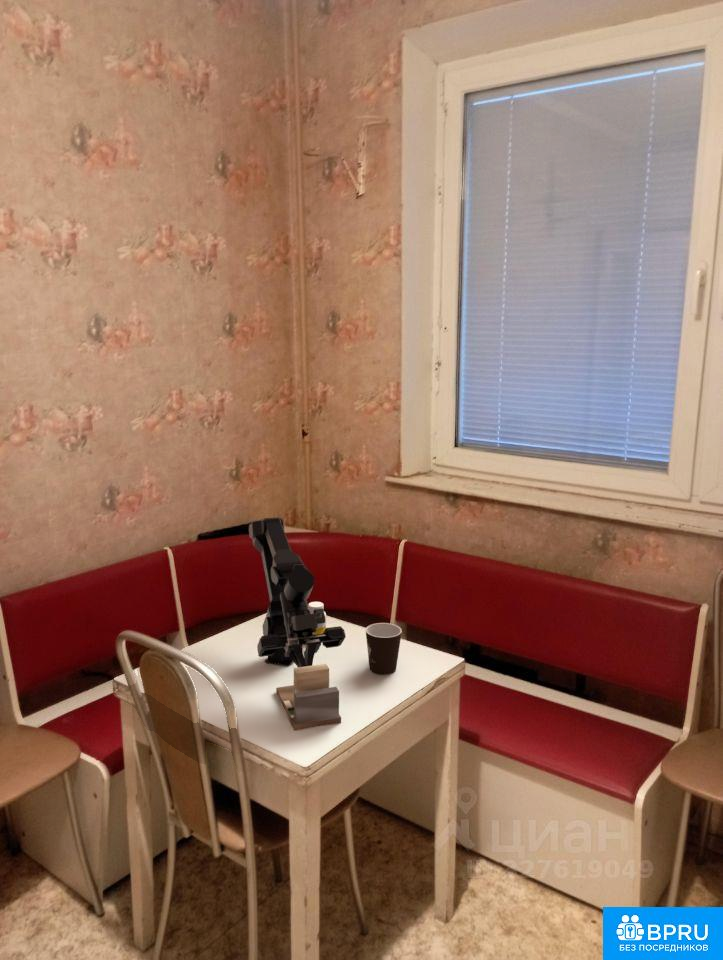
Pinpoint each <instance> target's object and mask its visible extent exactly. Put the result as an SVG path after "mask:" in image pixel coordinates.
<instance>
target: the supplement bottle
mask: <svg viewBox="0 0 723 960" xmlns="http://www.w3.org/2000/svg"><path fill="white" fill-rule="evenodd" d="M307 605H308V609H309V610H310V613H311V614H313V612H314V610H315V609H322V608H323V610H324V609H325V608H324V603H323V602H321V601H311V602H309V603H307ZM324 614H325V623H322V624H318V628H316V631H315V632H313V635H316V634H323V633H324V631H325V629H326V628H327V613H326V611H324Z"/></svg>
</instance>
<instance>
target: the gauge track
mask: <svg viewBox="0 0 723 960" xmlns="http://www.w3.org/2000/svg"><path fill="white" fill-rule="evenodd" d="M275 689H276V695H277V697H278V699H279V701H280V703H281V706H282V708H283V709H284V712H285V714H286V716H287V718H288V721H289V722H290V725H291V728H292V729H293V731H300V730H301V731H302V730H305V729H311V728H313V729H314V728H317V727H324V726H328V725H329V726H330V725H334V724H335V725H336V724H340V723H342V716H341V715H340V690H339V689H338V687H337V686H332V687H331V686H329V688H324V689H317V690H311V691H304V692H298V693H294V684H292V685H285V686H278V687H276V688H275ZM290 707H294V710H292V711H288V708H290Z"/></svg>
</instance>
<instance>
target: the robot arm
mask: <svg viewBox="0 0 723 960" xmlns="http://www.w3.org/2000/svg"><path fill="white" fill-rule="evenodd" d="M248 535H249V538H250V539H251V541H252V545H253V547H254V549H256V550H257V551H258V552H259V553H260V554H261V559H262V564H263V570H264V575H265V580H266V581H265V583H266V585H267V586H266V587H267V591H268V597H269V602H270V603H269V605H268V608H267V611H266V615H265V617H264V621H263V623H262V634H263V635H262V636H261V637H260V638H259V640H258V643H257V646H256V648H257V654H258V655H257V656H258V657H260V658H263V657H266V659H265V660H264V663H265V664H266V663H267V664H270V665H271V664H273V665H279V666H280V665H281V666H285V667H286V666H287V667H290V666H291V665H292V664H293V663H294V664H295V665H296V668H298V667H305V666H313V662H314V656H315V654H316V653H318V652H319V649H320V648H321V645H322V646H324V647H325V648H326V649H329V648H330V649H331V648H337V647H340V646H341V645H342V644H343V642H344V640H345V638H346V633H345V629H344V628H343V627H342V626H332V627H326V629H325V631H324V633H323V634H316V635H313V632H315V631H316V628H318V624H322V623H325V614H324V612H325V611H324V609H323V608H322V609H315V610H314V612H313V614H311V613H310V610H309V609H308V598H309V597H310V595H311V592H312V590H313V587H314V586H315V583H316V582H315V581H316V580H315V576H314V575H313V574H312V572H311V571H310V570H309V569H308V567H307V566H306V564H305V563H303V561H302V559H301V557H300V555H299V554H297V553H296V552H293V551H292V548H291V546H290V543H289V541H288V538H287V535H286V531H285V523H284V520H283V518H282V517H279V516H276V517H275V516H273V517H264V518H262V519H258V520H257V519H255V520H253V522H251V523H249V525H248ZM303 646H304V647H305V650H304V649H303Z"/></svg>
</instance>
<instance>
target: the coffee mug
mask: <svg viewBox="0 0 723 960" xmlns="http://www.w3.org/2000/svg"><path fill="white" fill-rule="evenodd" d="M402 632H403V630H402V628H401V627H400V626H398V625H397V624H393V623H388V622H378V623H377V622H376V623H372V624H369V625H368V626H366V628H365V635H366V636H365V637H366V645H367V647H366V648H367V656H368V657H367V658H368V667H369V671H370V672H371V673H373V674H375V675H378V676H389V675H392V674H394V673H395V672H396V671H397V667H398V665H397V664H398V658H399V653H400V646H401V638H402Z"/></svg>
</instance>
